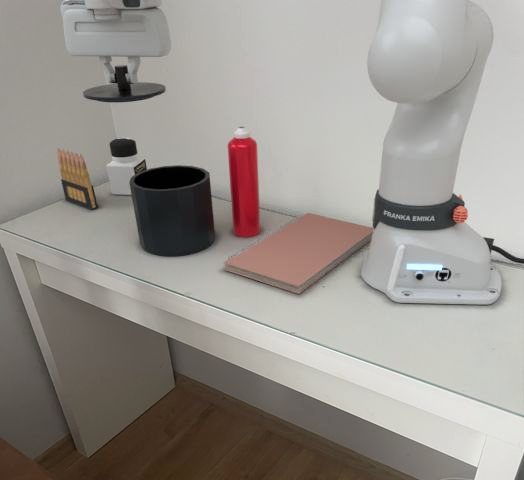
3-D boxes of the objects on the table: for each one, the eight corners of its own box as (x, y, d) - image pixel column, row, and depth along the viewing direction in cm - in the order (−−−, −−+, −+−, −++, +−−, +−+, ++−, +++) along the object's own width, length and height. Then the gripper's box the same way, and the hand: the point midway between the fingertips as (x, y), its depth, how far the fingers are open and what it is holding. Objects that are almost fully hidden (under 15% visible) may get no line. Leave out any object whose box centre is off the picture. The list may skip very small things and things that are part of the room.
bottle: (240, 225, 110) (234, 123, 98) (264, 228, 108) (261, 124, 96) (228, 235, 106) (221, 130, 94) (253, 238, 104) (249, 132, 92)
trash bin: (225, 229, 108) (220, 167, 101) (198, 260, 97) (190, 193, 90) (161, 223, 112) (152, 163, 105) (127, 252, 101) (114, 187, 94)
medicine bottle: (139, 195, 127) (130, 143, 120) (111, 194, 128) (101, 143, 121) (150, 186, 132) (142, 135, 125) (123, 185, 134) (114, 135, 127)
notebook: (303, 219, 111) (303, 210, 110) (375, 236, 103) (376, 227, 102) (219, 269, 94) (218, 259, 93) (298, 295, 85) (299, 284, 84)
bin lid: (179, 89, 106) (176, 60, 103) (143, 106, 94) (138, 73, 91) (110, 87, 110) (105, 59, 107) (67, 103, 98) (60, 72, 95)
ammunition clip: (98, 207, 121) (86, 154, 114) (91, 210, 120) (79, 156, 113) (72, 198, 127) (59, 146, 120) (65, 200, 126) (52, 148, 119)
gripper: (48, -2, 93) (67, 84, 101) (153, -5, 88) (164, 87, 96) (68, -4, 98) (85, 79, 106) (169, -6, 93) (178, 81, 101)
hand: (123, 83), depth 101 cm, fingers closed on bin lid, 2 cm apart
